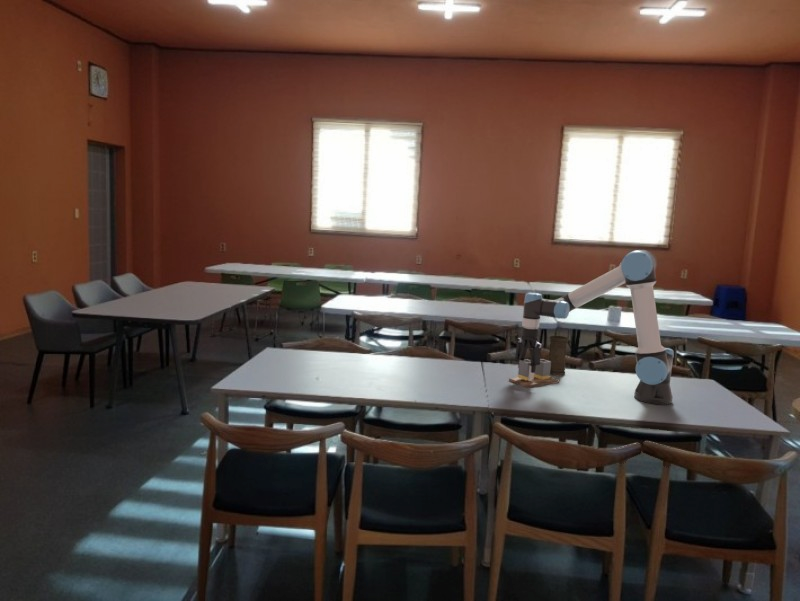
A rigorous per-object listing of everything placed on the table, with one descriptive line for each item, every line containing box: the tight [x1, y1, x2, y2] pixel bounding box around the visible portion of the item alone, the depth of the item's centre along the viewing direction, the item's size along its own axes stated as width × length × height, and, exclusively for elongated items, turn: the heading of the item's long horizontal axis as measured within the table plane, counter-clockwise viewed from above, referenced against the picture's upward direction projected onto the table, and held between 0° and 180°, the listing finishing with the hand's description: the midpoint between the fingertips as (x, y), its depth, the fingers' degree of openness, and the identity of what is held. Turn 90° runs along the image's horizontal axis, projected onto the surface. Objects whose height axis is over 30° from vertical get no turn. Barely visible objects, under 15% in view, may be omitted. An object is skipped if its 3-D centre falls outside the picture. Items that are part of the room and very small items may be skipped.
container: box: [548, 335, 569, 377], centre depth 290 cm, size 9×9×18 cm
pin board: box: [508, 376, 559, 389], centre depth 274 cm, size 12×20×6 cm, turn 127°
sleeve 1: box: [517, 358, 534, 380], centre depth 270 cm, size 5×5×8 cm
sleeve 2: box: [534, 358, 551, 380], centre depth 276 cm, size 5×5×8 cm
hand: (525, 377), depth 270 cm, fingers closed on sleeve 1, 5 cm apart
